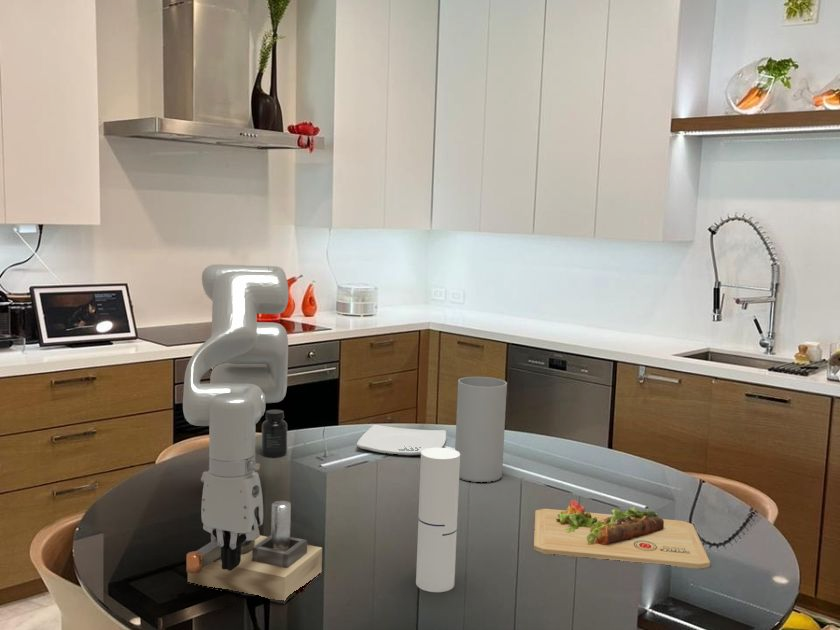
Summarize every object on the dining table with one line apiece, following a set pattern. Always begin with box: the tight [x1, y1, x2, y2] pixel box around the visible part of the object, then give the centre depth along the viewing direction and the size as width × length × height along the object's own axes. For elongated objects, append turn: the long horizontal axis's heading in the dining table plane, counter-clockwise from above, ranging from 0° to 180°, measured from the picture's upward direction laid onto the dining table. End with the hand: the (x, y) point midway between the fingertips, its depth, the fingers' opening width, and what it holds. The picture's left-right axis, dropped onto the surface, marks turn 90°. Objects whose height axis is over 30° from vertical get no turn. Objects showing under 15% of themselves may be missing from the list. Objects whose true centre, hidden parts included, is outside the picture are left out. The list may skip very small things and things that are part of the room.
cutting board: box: [533, 499, 711, 570], centre depth 181 cm, size 35×23×8 cm
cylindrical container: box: [415, 447, 460, 593], centre depth 155 cm, size 7×7×25 cm
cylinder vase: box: [454, 376, 508, 484], centre depth 219 cm, size 12×12×25 cm
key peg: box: [270, 500, 292, 552], centre depth 154 cm, size 3×3×10 cm
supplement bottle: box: [261, 409, 288, 459], centre depth 231 cm, size 7×7×12 cm
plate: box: [356, 424, 447, 456], centre depth 246 cm, size 24×24×3 cm
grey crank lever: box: [186, 533, 255, 574], centre depth 153 cm, size 8×17×11 cm, turn 159°
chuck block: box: [187, 534, 323, 601], centre depth 156 cm, size 20×14×8 cm
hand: (230, 566), depth 147 cm, fingers closed
